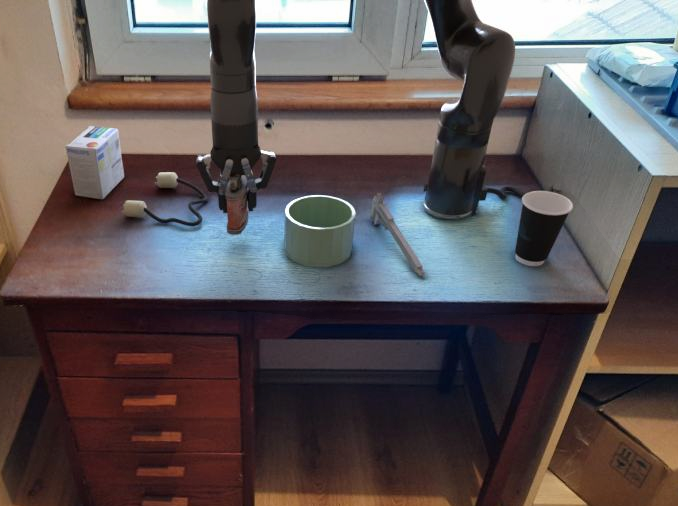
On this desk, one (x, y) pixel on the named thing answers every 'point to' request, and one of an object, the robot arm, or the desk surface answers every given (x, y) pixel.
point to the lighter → (237, 204)
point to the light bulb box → (95, 162)
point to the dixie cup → (540, 225)
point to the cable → (164, 182)
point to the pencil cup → (319, 230)
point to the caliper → (394, 231)
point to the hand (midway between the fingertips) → (237, 209)
